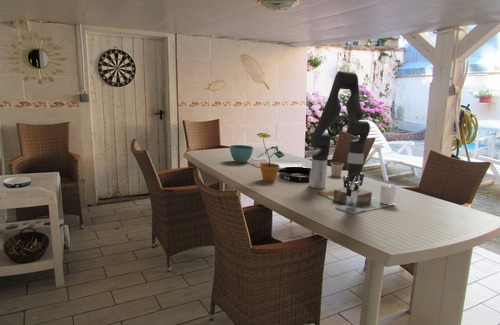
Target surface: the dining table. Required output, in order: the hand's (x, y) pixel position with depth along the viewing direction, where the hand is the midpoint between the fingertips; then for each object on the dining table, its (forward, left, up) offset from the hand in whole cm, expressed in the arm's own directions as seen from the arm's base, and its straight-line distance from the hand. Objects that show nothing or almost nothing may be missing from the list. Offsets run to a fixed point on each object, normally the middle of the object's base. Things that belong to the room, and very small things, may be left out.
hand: (352, 195), depth 189 cm
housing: (-9, +13, -8) cm, 18 cm away
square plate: (-90, +42, -8) cm, 100 cm away
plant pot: (-124, +24, -8) cm, 127 cm away
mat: (0, 0, -8) cm, 8 cm away
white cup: (+3, +27, -8) cm, 28 cm away
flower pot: (-55, +56, -8) cm, 79 cm away
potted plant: (-67, +4, -8) cm, 68 cm away
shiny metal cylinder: (0, 0, -5) cm, 5 cm away
